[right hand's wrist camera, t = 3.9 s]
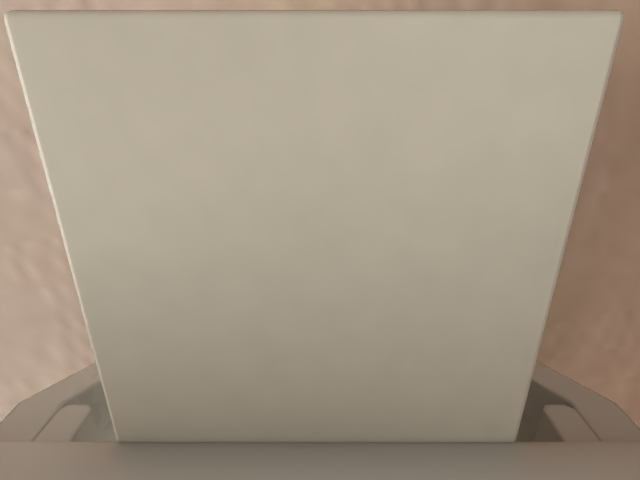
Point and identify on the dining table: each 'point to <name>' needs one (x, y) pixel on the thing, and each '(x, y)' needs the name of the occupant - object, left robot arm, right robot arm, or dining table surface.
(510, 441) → the cream rectangular bar
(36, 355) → the dining table surface
